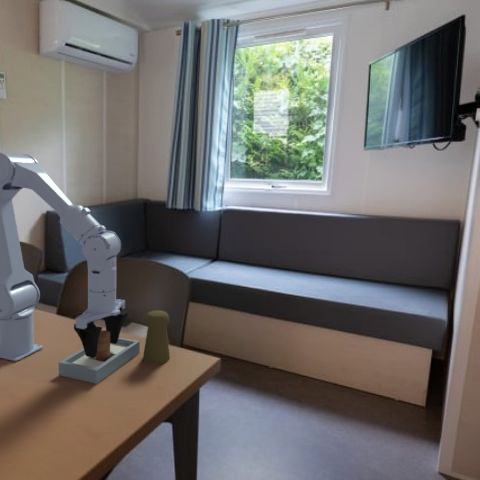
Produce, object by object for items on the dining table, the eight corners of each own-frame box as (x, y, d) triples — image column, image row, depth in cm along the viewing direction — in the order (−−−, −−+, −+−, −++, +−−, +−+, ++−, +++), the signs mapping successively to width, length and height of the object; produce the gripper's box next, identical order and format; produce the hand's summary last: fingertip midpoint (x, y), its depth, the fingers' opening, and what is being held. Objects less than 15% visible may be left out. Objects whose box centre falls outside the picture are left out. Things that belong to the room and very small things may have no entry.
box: (59, 375, 85) (58, 362, 85) (106, 345, 100) (106, 334, 100) (96, 383, 82) (96, 370, 82) (139, 352, 98) (139, 341, 97)
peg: (103, 367, 89) (103, 336, 88) (92, 364, 91) (92, 333, 89) (113, 362, 92) (113, 332, 91) (102, 359, 93) (102, 329, 92)
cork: (164, 365, 92) (165, 318, 90) (138, 362, 93) (139, 314, 91) (173, 354, 98) (175, 309, 96) (149, 351, 99) (150, 306, 97)
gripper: (96, 300, 81) (96, 366, 83) (137, 283, 94) (136, 340, 97) (66, 295, 83) (67, 360, 85) (110, 279, 96) (109, 335, 99)
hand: (102, 349), depth 91 cm, fingers open, 7 cm apart
